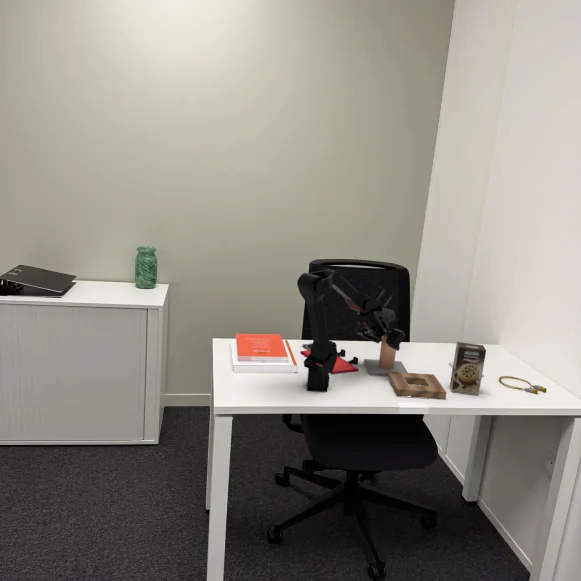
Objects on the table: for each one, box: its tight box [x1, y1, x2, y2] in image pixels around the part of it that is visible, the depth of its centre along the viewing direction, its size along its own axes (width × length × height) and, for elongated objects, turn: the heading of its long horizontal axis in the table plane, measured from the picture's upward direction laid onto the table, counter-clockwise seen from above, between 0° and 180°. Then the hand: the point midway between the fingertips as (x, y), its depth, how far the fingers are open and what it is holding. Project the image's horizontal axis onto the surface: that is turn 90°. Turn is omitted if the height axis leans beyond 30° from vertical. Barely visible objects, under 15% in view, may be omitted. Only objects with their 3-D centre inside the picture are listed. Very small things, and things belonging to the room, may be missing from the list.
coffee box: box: [449, 341, 487, 396], centre depth 208 cm, size 9×6×16 cm
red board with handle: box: [300, 343, 359, 375], centre depth 231 cm, size 30×3×15 cm
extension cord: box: [498, 375, 547, 395], centre depth 219 cm, size 12×16×2 cm
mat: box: [363, 358, 409, 377], centre depth 224 cm, size 14×14×1 cm
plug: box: [378, 336, 397, 370], centre depth 223 cm, size 6×6×12 cm
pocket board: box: [387, 372, 447, 400], centre depth 208 cm, size 16×16×2 cm
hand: (388, 346), depth 222 cm, fingers open, 9 cm apart
